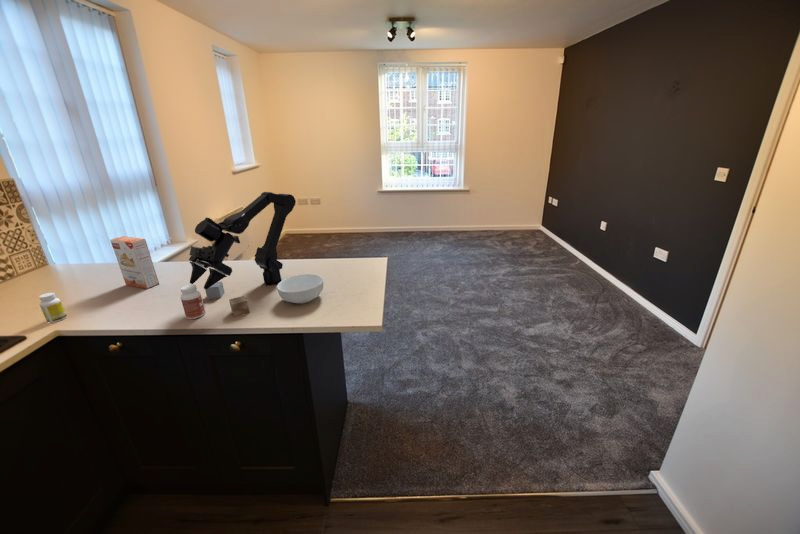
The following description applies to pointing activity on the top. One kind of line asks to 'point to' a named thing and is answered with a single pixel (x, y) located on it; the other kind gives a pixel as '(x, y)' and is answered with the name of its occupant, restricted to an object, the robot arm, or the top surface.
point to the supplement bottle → (52, 308)
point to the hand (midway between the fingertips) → (197, 286)
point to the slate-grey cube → (215, 291)
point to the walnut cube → (239, 306)
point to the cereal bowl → (300, 288)
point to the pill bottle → (192, 302)
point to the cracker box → (135, 261)
